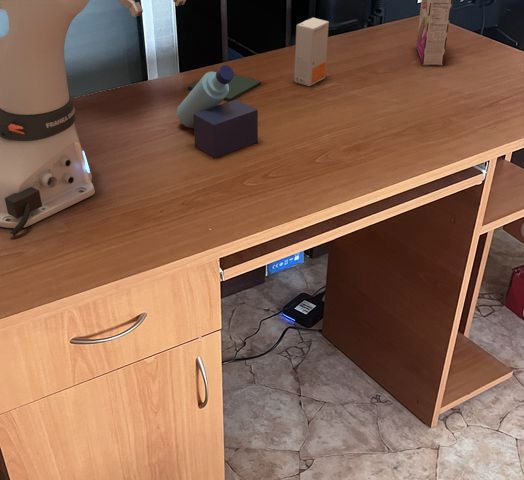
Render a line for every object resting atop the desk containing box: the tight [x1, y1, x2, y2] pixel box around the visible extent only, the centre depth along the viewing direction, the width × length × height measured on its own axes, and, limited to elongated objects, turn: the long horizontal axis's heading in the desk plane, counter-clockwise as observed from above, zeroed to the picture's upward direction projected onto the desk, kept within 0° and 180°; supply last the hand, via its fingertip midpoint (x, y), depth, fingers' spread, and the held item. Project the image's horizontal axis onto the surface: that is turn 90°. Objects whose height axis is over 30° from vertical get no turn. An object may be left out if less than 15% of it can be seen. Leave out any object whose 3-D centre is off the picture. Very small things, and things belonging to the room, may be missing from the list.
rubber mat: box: [187, 73, 262, 102], centre depth 165 cm, size 11×11×1 cm
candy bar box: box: [415, 0, 453, 67], centre depth 173 cm, size 11×5×16 cm, turn 179°
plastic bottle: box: [176, 64, 235, 129], centre depth 143 cm, size 14×5×14 cm, turn 40°
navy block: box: [193, 98, 259, 159], centre depth 142 cm, size 6×10×6 cm, turn 130°
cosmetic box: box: [293, 17, 330, 87], centre depth 164 cm, size 6×4×12 cm
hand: (160, 9), depth 142 cm, fingers open, 8 cm apart
